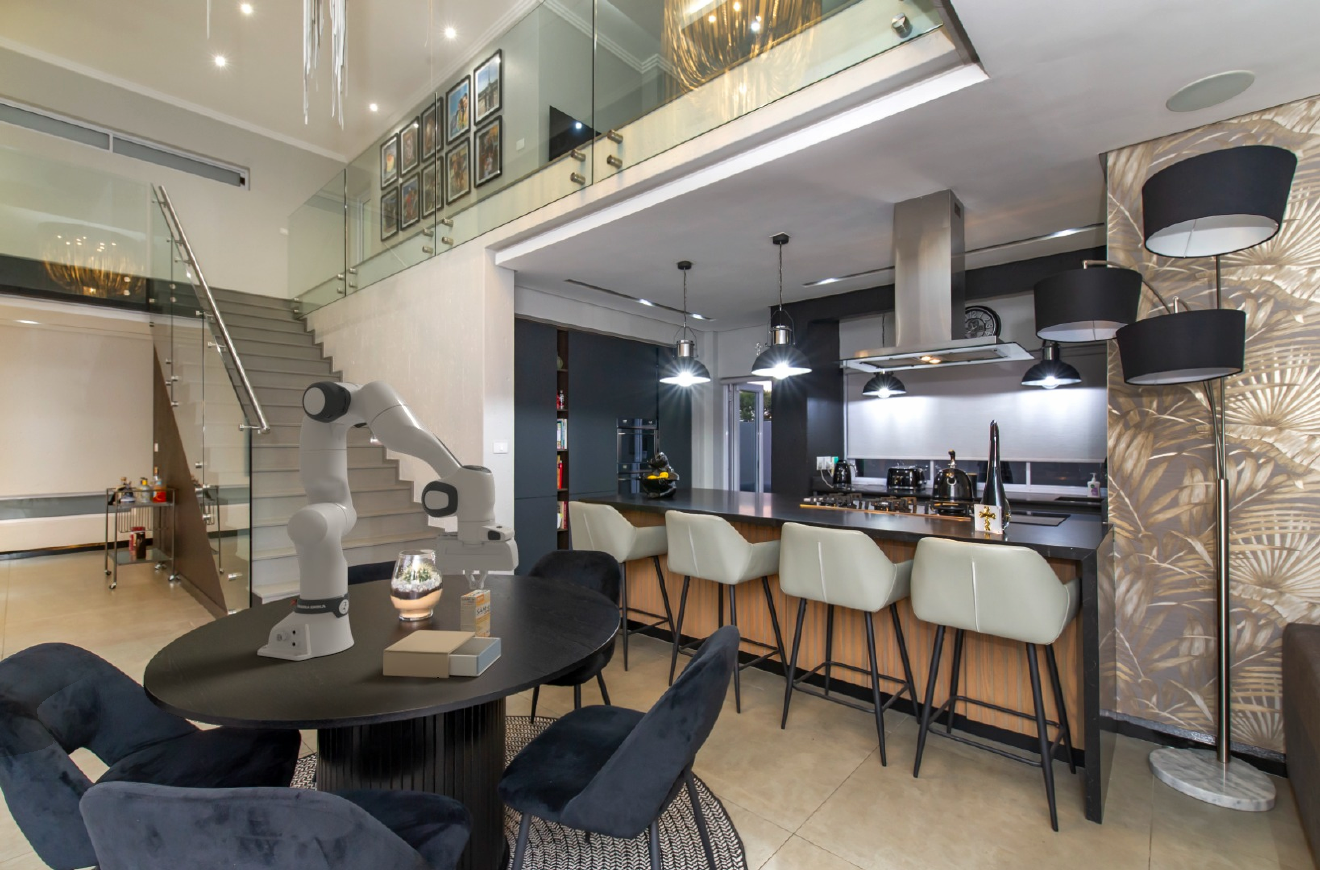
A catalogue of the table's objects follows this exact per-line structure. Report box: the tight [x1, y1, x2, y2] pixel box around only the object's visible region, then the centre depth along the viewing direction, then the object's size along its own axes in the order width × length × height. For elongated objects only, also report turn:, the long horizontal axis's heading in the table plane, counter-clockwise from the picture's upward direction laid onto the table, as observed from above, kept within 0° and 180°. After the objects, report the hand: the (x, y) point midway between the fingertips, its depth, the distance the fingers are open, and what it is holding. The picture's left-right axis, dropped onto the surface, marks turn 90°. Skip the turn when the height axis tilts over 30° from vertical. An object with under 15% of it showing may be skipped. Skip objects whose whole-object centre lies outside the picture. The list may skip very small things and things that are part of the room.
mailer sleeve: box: [382, 629, 476, 679], centre depth 140 cm, size 16×15×6 cm
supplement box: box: [460, 589, 491, 638], centre depth 158 cm, size 8×5×13 cm, turn 168°
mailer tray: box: [449, 637, 502, 677], centre depth 139 cm, size 15×13×4 cm
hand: (476, 588), depth 139 cm, fingers closed
